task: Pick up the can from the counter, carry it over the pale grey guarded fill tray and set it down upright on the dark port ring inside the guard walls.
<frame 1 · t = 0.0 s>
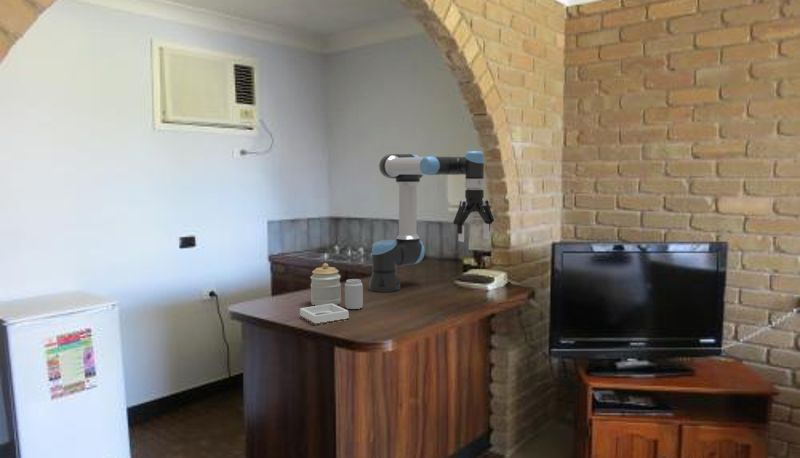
hand: (473, 240, 226), 28 cm above the countertop, fingers open, 13 cm apart
can: (353, 308, 226), on the countertop
fill tray: (324, 318, 211), on the countertop
jar: (326, 304, 234), on the countertop
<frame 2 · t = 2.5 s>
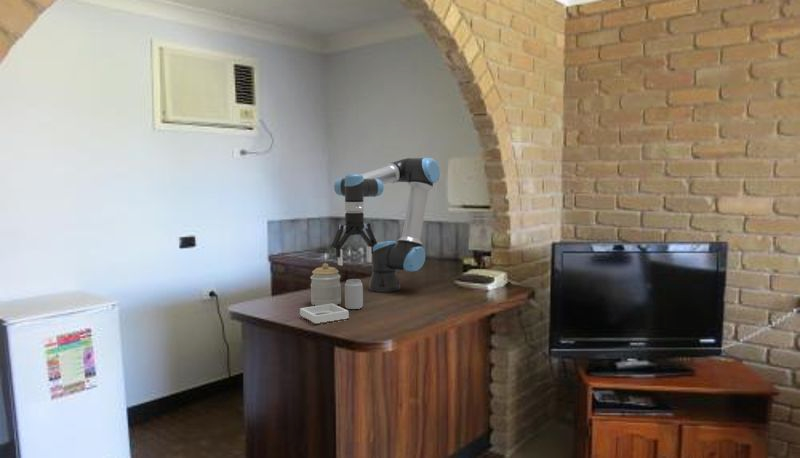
hand: (354, 263, 224), 19 cm above the countertop, fingers open, 13 cm apart
nothing on the countertop moved.
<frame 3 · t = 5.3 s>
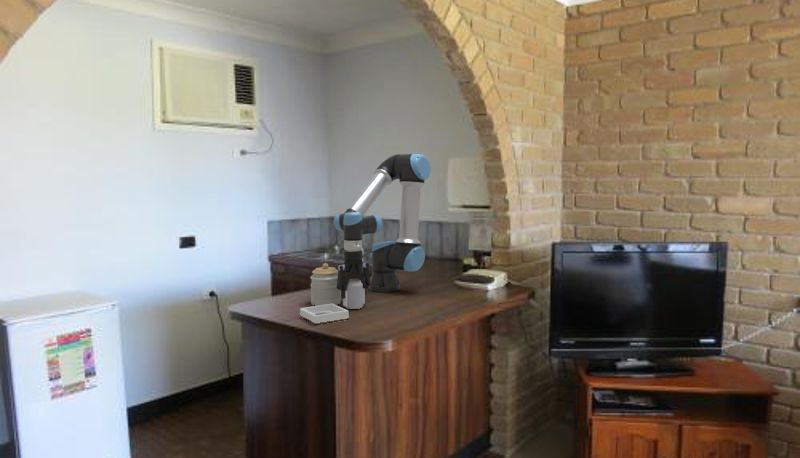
hand: (353, 304, 226), 2 cm above the countertop, fingers closed on can, 7 cm apart
can: (354, 308, 226), on the countertop, touching gripper
everything else where it was.
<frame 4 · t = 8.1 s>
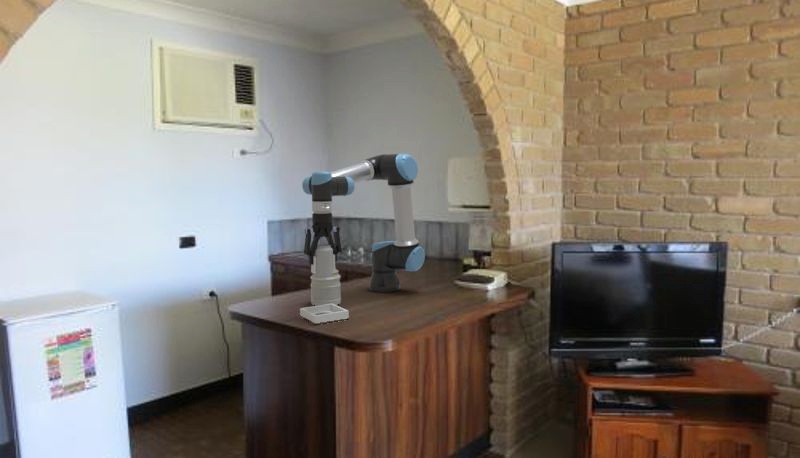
hand: (323, 271, 209), 18 cm above the countertop, fingers closed on can, 7 cm apart
can: (323, 276, 209), point 17 cm above the countertop, touching gripper
everything else where it was.
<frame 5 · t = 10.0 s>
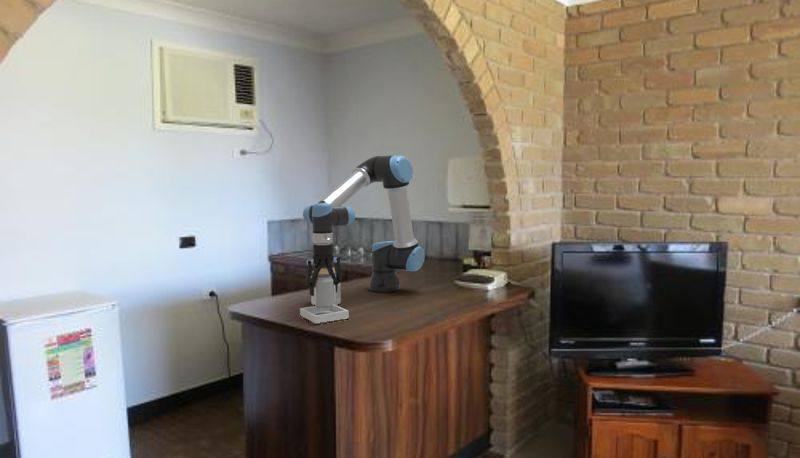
hand: (323, 302, 210), 6 cm above the countertop, fingers closed on can, 7 cm apart
can: (323, 306, 210), point 5 cm above the countertop, touching gripper
everything else where it was.
when the fingers open (5 cm above the countertop, at t = 11.3 s): can drops 2 cm, resting on fill tray.
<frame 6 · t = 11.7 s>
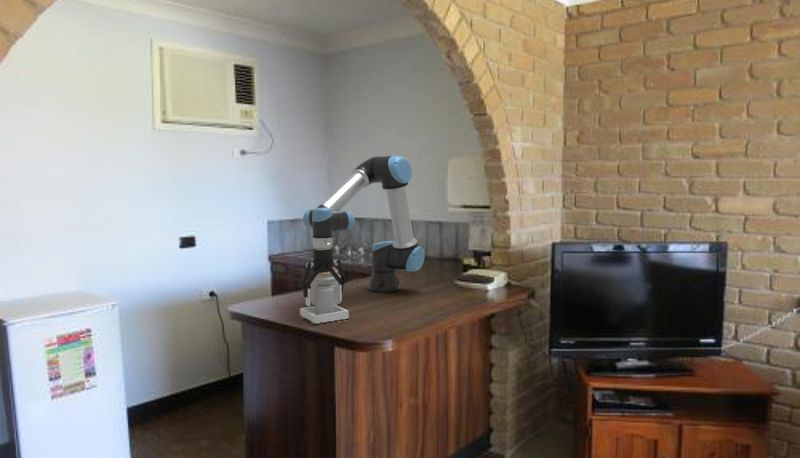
hand: (323, 303, 210), 6 cm above the countertop, fingers open, 13 cm apart
can: (324, 315, 211), point 1 cm above the countertop, touching fill tray
everything else where it was.
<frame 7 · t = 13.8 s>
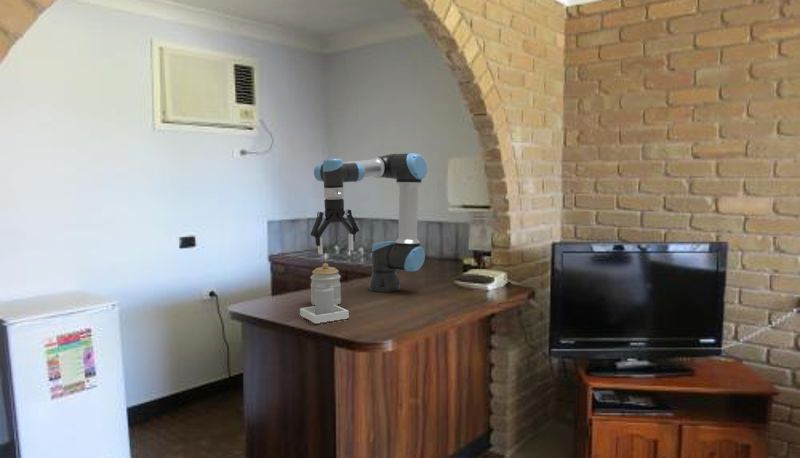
hand: (336, 252, 215), 25 cm above the countertop, fingers open, 13 cm apart
nothing on the countertop moved.
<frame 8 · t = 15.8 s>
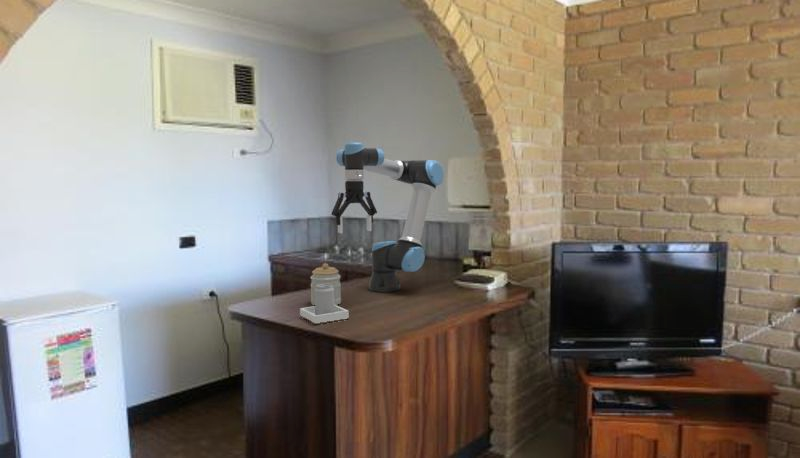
hand: (354, 231, 225), 32 cm above the countertop, fingers open, 13 cm apart
nothing on the countertop moved.
at the end: can inside the target area on the fill tray (0.2 cm from its centre), point 1.0 cm above the fill tray's base; can tilted 0°; the gripper is holding nothing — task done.
